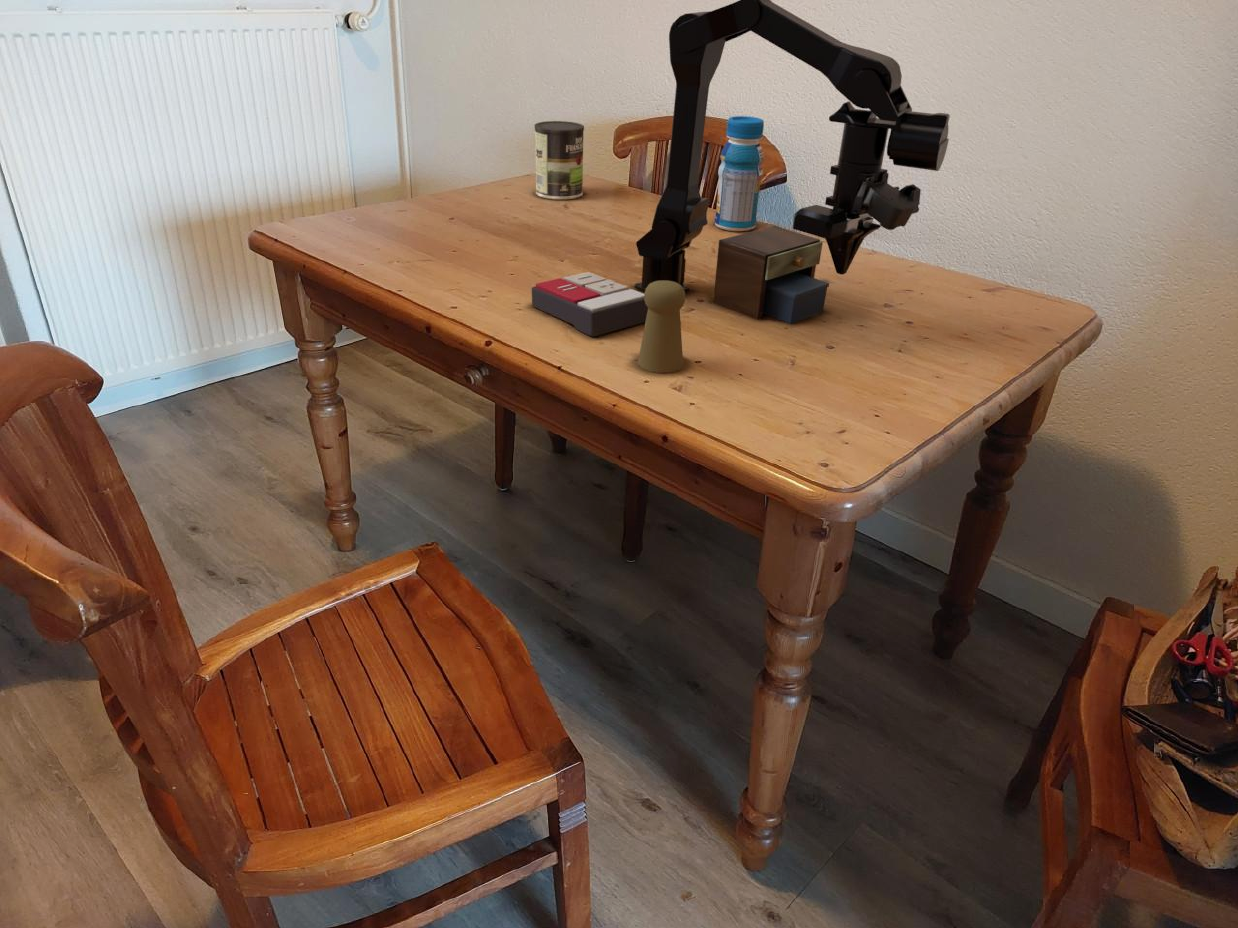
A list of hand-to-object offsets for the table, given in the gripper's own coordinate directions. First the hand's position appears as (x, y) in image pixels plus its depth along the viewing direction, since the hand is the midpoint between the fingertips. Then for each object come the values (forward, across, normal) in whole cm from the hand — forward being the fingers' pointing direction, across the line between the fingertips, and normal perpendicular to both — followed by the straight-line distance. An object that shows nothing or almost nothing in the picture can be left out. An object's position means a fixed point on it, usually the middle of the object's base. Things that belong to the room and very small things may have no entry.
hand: (841, 273), depth 124 cm
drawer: (+2, 0, +12) cm, 12 cm away
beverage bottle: (+8, +28, +44) cm, 52 cm away
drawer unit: (+8, 0, +13) cm, 16 cm away
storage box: (+8, 0, +11) cm, 13 cm away
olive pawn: (+8, -29, +7) cm, 31 cm away
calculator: (+8, -25, +26) cm, 37 cm away
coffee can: (+8, +15, +83) cm, 84 cm away
